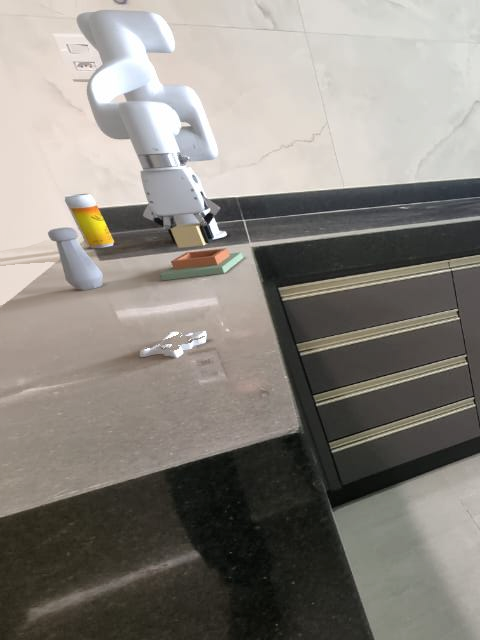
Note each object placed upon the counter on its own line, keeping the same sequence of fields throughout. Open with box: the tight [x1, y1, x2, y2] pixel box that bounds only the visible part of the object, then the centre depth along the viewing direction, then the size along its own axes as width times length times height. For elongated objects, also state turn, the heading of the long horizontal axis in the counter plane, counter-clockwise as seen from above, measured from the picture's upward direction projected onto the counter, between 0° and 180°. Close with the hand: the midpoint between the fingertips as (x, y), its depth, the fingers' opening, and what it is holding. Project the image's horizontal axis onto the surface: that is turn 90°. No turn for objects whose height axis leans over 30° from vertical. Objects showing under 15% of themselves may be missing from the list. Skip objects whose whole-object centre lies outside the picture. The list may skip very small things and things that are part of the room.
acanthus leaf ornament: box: [139, 330, 207, 359], centre depth 82 cm, size 8×7×2 cm
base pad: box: [159, 247, 244, 282], centre depth 128 cm, size 16×12×4 cm
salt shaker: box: [47, 226, 104, 291], centre depth 114 cm, size 6×6×13 cm
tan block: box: [171, 223, 208, 249], centre depth 125 cm, size 6×5×4 cm
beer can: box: [64, 193, 115, 249], centre depth 156 cm, size 6×6×15 cm
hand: (195, 242), depth 126 cm, fingers closed on tan block, 5 cm apart
